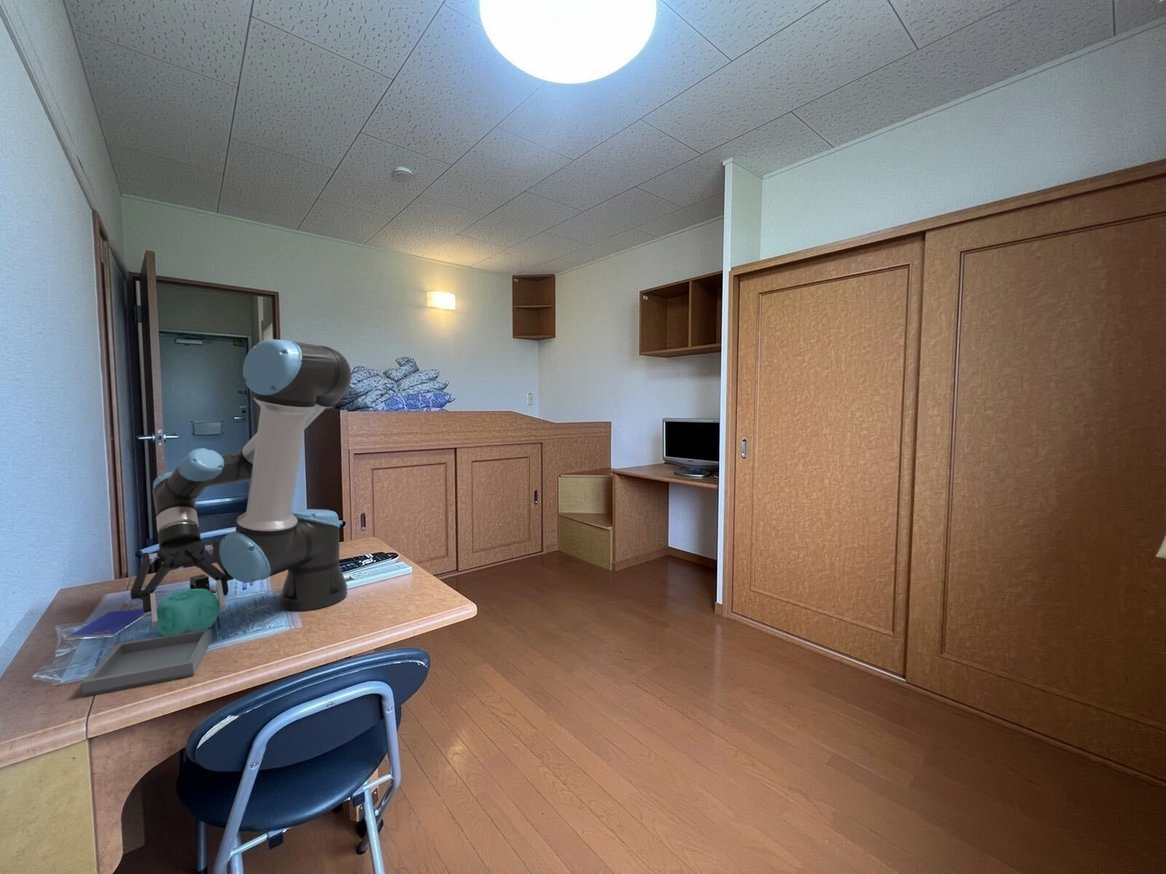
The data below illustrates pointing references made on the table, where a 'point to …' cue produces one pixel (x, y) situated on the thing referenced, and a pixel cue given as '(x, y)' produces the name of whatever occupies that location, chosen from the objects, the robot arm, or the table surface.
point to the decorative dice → (187, 611)
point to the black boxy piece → (200, 583)
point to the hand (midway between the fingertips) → (190, 616)
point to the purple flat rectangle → (108, 624)
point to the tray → (148, 662)
